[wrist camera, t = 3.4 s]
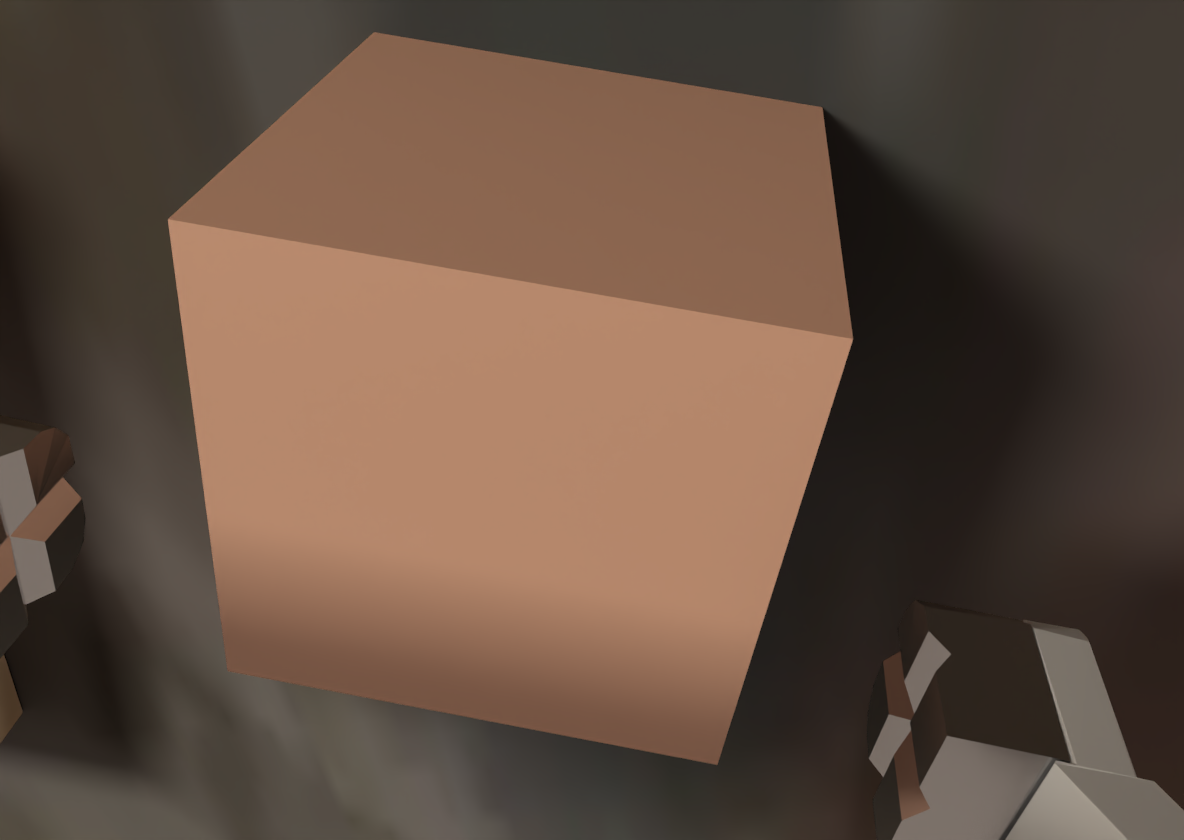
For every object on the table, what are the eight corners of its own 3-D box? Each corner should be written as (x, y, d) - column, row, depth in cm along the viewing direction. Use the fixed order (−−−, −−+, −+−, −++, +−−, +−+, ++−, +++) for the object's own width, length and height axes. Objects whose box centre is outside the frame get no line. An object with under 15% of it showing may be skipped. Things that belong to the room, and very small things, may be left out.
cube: (376, 31, 12) (168, 219, 8) (821, 104, 11) (852, 339, 7) (376, 394, 15) (227, 670, 10) (730, 459, 14) (717, 765, 10)
